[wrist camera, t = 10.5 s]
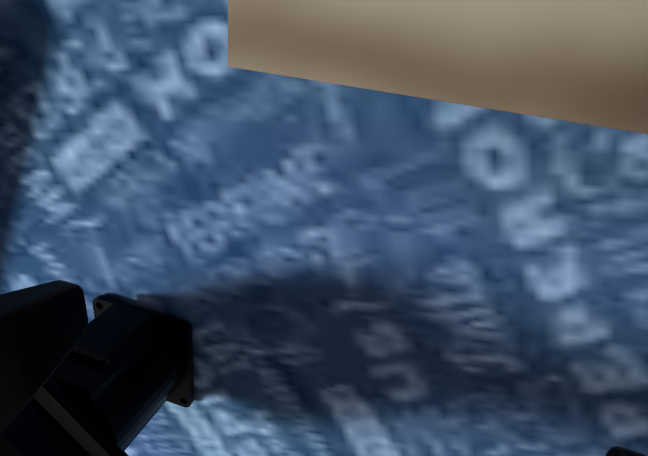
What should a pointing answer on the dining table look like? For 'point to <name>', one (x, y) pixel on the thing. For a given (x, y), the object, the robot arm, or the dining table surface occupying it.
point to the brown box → (461, 52)
